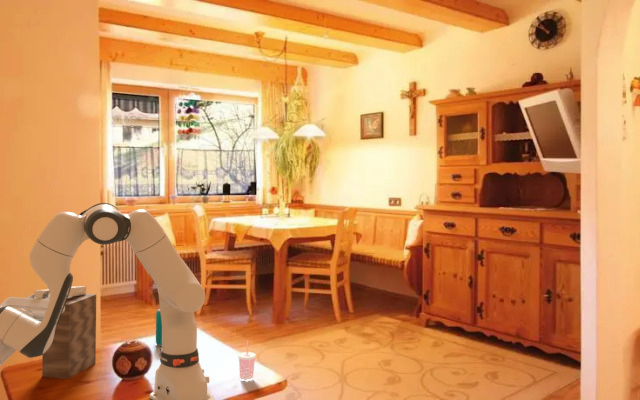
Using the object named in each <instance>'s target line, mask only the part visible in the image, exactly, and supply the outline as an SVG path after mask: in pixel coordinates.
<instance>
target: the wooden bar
mask: <svg viewBox="0 0 640 400" xmlns="http://www.w3.org/2000/svg"><path fill="white" fill-rule="evenodd" d="M87 287H88V286H85V285H77V286H71V289H70V292H69V295H68V297H71V296H79V295H86V294H87ZM48 292H49V289H48V288H47V289H36V290H34V293H33V294H34V298H36V299H45V298H48V297H47V295H46V294H47V293H48Z"/></svg>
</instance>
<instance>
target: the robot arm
mask: <svg viewBox="0 0 640 400" xmlns="http://www.w3.org/2000/svg"><path fill="white" fill-rule="evenodd" d="M87 240H91V242H94V243H96V244H98V245H110V244H114V243H117V242H118V243H119V242H122V241H126V242H127V244H128V245H129V246H130V249H132V251H133V252H134V254H135V256H136V257H137V259H138V260H139V262H140V264H141V265H142V267H143V268H144V270H145V271H146V273H147V274H148V275H149V277H150V278H151V279H152V280H153V282H154V284H155V285H156V287H157V293H158V302H159V303H158V304H159V308H160V313H161V320H162V346H161V350H160V354H159V358H160V359H159V362H160V365H159V366H158V367H157V369H156V370H155V376H154V387H153V388H154V389H153V391H152V392H151V393H150V394H149V398H150V400H215V398H214V395H213V394H212V393H211V390H210V389H209V387H208V384H209V383H210V376H209V375H205V374H204V373H205V369H204V368H202V367H201V364H200V358H199V355H200V354H199V350H198V347H197V346H198V345H197V344H198V339H197V338H198V324H197V321H196V316H195V312H198V311H199V310H200V309H201V308H202V307H203V306H204V303H205V302H206V292H205V289H204V287H203V286H202V284H201V283H200V281H198V279H197V277H196V276H195V275H194V273H193V271H192V270H191V269H190V267H189V266H188V265H187V264H186V262H185V261H184V259H183V258H182V257H181V255H180V254H179V252H178V251H177V250H176V248H175V247H174V245H173V243H172V241H171V240H170V238H169V236H168V234H167V233H166V232H165V230H164V228H163V227H162V226H161V224H160V223H159V222H158V219H156V218H155V217H154V216H153V215H152V214H151V212H149V211H148V210H146V209H142V208H141V209H135V210H133V211H131V212H129V213H123V212H121V211H120V210H119V209H118V208H117V207H116V206H115V205H114V204H111V203H108V202H100V203H97V204H94V205H92V206H91V207H89V208H87V209H85V210H83V211H81V212H80V213H79V214H77V213H74V212H70V211H61V212H58V213H56V215H55V216H54V217H53V218H52V219H51V220H50V221H49V222H48V223H47V225H46V226H45V227H44V229H43V230H42V231H41V233H40V234H39V236H38V238H36V239H35V242H34V244H33V246H32V248H31V250H30V252H29V263H30V266H31V268H32V270H33V271H34V273H35V274H36V276H38V277H39V279H41V281H43V283H44V284H45V286H46V287H47V289H49V292H48V293H47V294H46V295H47V297H48V298H45V299H36V298H34V293H32V294H30V295H28V296H27V297H19V296H18V297H17V296H9V297H7V298H5V299H4V300H3V301H2V302H1V304H0V367H1V366H2V365H3V364H4V363H5V362H7V361H8V359H9V358H10V357H11V356H12V355H13V354H14V353H15V352H16V351H18V352H19V353H20V354H22V355H24V356H25V357H26V358H29V359H31V358H32V359H33V358H37V357H40V356H43V354H44V353H45V352H46V351H47V350H48V349H49V347H50V346H51V344H52V342H53V338H54V334H55V331H56V328H57V325H58V322H59V319H60V317H61V314H62V313H63V312H64V311H65V303H66V301H67V298H68V295H69V292H70V289H71V287H73V286H72V285H73V280H74V276H73V274H72V272H71V264H72V260H73V258H74V257H75V255H76V254H77V251H78V250H79V248H80V247H81V245H82V244H83V243H84V242H85V241H87Z"/></svg>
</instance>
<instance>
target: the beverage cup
mask: <svg viewBox="0 0 640 400" xmlns="http://www.w3.org/2000/svg"><path fill="white" fill-rule="evenodd" d="M237 355H238V363H239V364H238V365H239V368H238V370H239V379H240V378H241V379H244V380H247V379H251V378H253V379H254V374H255V373H254V371H255V362H256V361H255V360H256V358H257V357H256V355H257V354H256V353H254V352H252V351H249V340H246V350H245V351H243V352H240V353H238V354H237Z"/></svg>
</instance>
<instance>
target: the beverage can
mask: <svg viewBox="0 0 640 400" xmlns="http://www.w3.org/2000/svg"><path fill="white" fill-rule="evenodd" d="M155 343H156V345H157V346H158V347H162V320H161V313H160V307H159V308H157V309H156V314H155Z"/></svg>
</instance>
